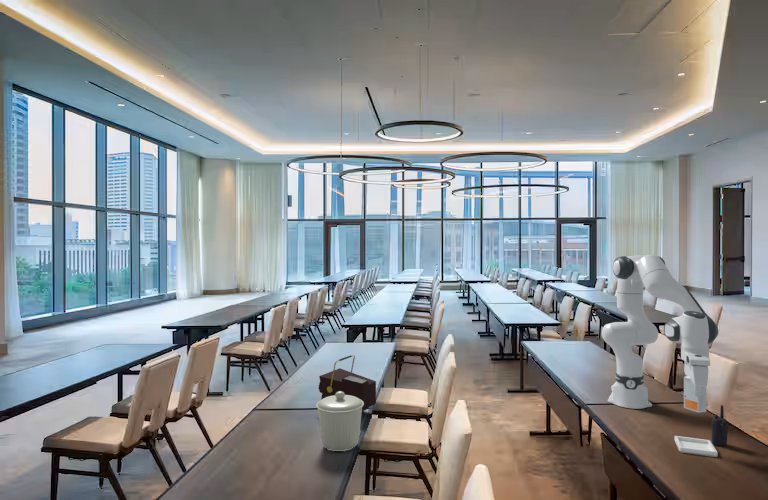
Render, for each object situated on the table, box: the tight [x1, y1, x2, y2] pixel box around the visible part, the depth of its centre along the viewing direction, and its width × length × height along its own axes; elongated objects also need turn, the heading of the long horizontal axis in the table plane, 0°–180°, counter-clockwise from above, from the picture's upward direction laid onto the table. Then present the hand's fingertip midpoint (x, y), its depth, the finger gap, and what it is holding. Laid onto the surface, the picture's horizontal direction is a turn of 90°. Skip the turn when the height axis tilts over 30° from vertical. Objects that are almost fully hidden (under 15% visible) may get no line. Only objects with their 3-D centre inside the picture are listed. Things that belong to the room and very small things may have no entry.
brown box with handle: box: [318, 354, 377, 413], centre depth 225 cm, size 16×23×25 cm
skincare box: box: [683, 375, 707, 414], centre depth 183 cm, size 6×4×12 cm
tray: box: [673, 435, 719, 458], centre depth 184 cm, size 12×12×2 cm
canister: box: [315, 391, 364, 450], centre depth 188 cm, size 18×18×21 cm
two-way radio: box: [711, 404, 729, 446], centre depth 186 cm, size 6×4×15 cm
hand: (695, 392), depth 183 cm, fingers closed on skincare box, 7 cm apart
